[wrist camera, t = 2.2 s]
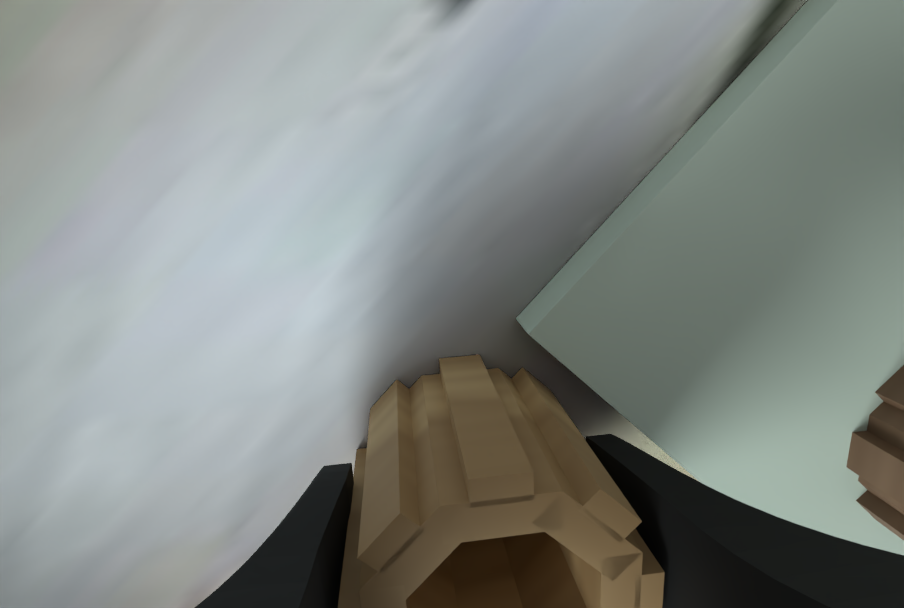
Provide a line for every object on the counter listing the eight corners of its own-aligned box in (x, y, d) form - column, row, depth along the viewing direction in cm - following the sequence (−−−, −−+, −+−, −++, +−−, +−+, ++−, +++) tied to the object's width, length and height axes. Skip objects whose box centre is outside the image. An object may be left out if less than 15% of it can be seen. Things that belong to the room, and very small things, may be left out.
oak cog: (608, 438, 14) (725, 587, 9) (471, 576, 14) (512, 784, 10) (456, 312, 12) (499, 408, 7) (314, 471, 13) (268, 653, 8)
